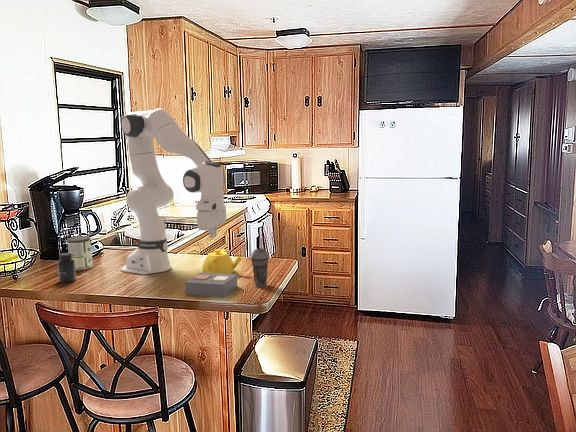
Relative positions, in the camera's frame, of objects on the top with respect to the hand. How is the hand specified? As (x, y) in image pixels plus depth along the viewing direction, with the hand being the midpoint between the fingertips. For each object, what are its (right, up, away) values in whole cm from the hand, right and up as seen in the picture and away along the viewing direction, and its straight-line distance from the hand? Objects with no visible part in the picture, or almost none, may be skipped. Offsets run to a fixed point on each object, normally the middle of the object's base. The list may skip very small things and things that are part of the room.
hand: (212, 236), depth 209 cm
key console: (0, -21, -1) cm, 21 cm away
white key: (+4, -19, -3) cm, 19 cm away
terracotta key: (-4, -18, 0) cm, 19 cm away
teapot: (+1, -18, +22) cm, 28 cm away
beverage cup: (+19, -20, +4) cm, 28 cm away
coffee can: (-68, -16, +39) cm, 80 cm away
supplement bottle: (-65, -20, +16) cm, 70 cm away
